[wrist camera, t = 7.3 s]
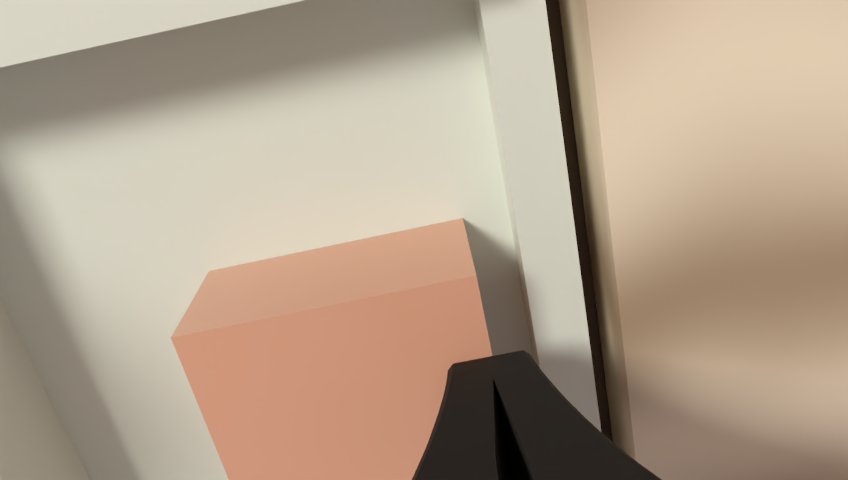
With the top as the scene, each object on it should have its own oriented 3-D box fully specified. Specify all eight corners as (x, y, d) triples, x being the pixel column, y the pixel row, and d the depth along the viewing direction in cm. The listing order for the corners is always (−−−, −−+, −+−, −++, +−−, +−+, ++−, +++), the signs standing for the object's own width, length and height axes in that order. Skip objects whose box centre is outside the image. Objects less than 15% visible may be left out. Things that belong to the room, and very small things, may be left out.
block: (504, 427, 15) (524, 513, 13) (282, 470, 16) (262, 562, 13) (462, 218, 13) (476, 275, 11) (208, 271, 14) (170, 337, 11)
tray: (609, 577, 18) (641, 672, 15) (151, 659, 18) (115, 762, 16) (512, -121, 12) (542, -136, 9) (-176, 35, 12) (-312, 57, 10)
